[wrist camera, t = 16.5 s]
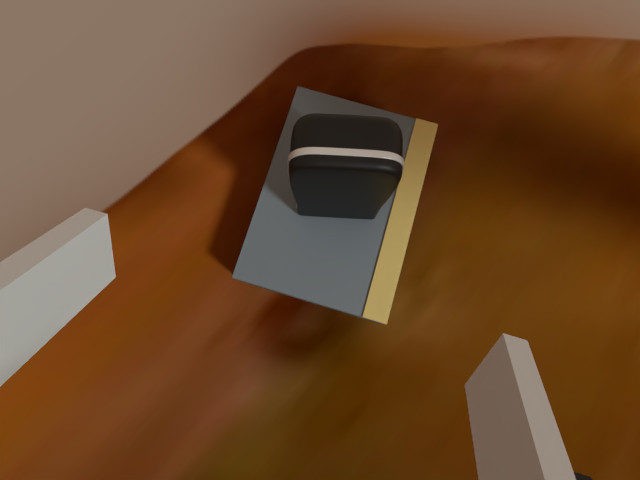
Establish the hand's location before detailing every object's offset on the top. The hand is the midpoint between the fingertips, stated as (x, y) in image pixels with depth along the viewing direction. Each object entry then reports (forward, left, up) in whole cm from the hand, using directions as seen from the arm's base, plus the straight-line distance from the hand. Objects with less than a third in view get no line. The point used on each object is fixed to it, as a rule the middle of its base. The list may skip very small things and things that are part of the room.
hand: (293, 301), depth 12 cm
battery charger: (0, -10, -18) cm, 20 cm away
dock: (0, -10, -22) cm, 24 cm away
